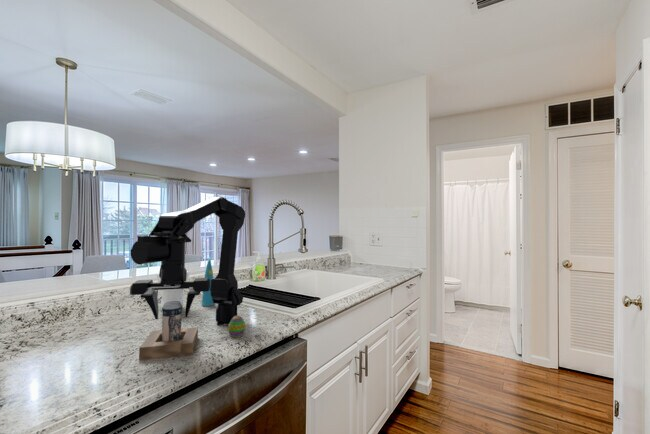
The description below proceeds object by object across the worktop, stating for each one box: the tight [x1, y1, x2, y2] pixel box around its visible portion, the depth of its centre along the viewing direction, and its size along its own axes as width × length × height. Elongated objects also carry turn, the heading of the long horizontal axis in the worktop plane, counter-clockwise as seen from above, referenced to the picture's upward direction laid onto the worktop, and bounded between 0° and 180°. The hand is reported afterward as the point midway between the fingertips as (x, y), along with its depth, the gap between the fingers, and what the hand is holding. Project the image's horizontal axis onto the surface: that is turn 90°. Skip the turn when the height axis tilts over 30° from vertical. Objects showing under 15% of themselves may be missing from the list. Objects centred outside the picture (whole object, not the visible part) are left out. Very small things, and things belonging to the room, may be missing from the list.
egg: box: [227, 314, 246, 339], centre depth 92 cm, size 5×5×6 cm
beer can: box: [161, 301, 183, 342], centre depth 82 cm, size 5×5×12 cm
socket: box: [138, 327, 199, 361], centre depth 82 cm, size 12×12×3 cm
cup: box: [156, 270, 190, 311], centre depth 119 cm, size 11×11×14 cm
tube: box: [201, 256, 215, 307], centre depth 125 cm, size 7×5×19 cm, turn 26°
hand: (171, 317), depth 82 cm, fingers open, 7 cm apart
